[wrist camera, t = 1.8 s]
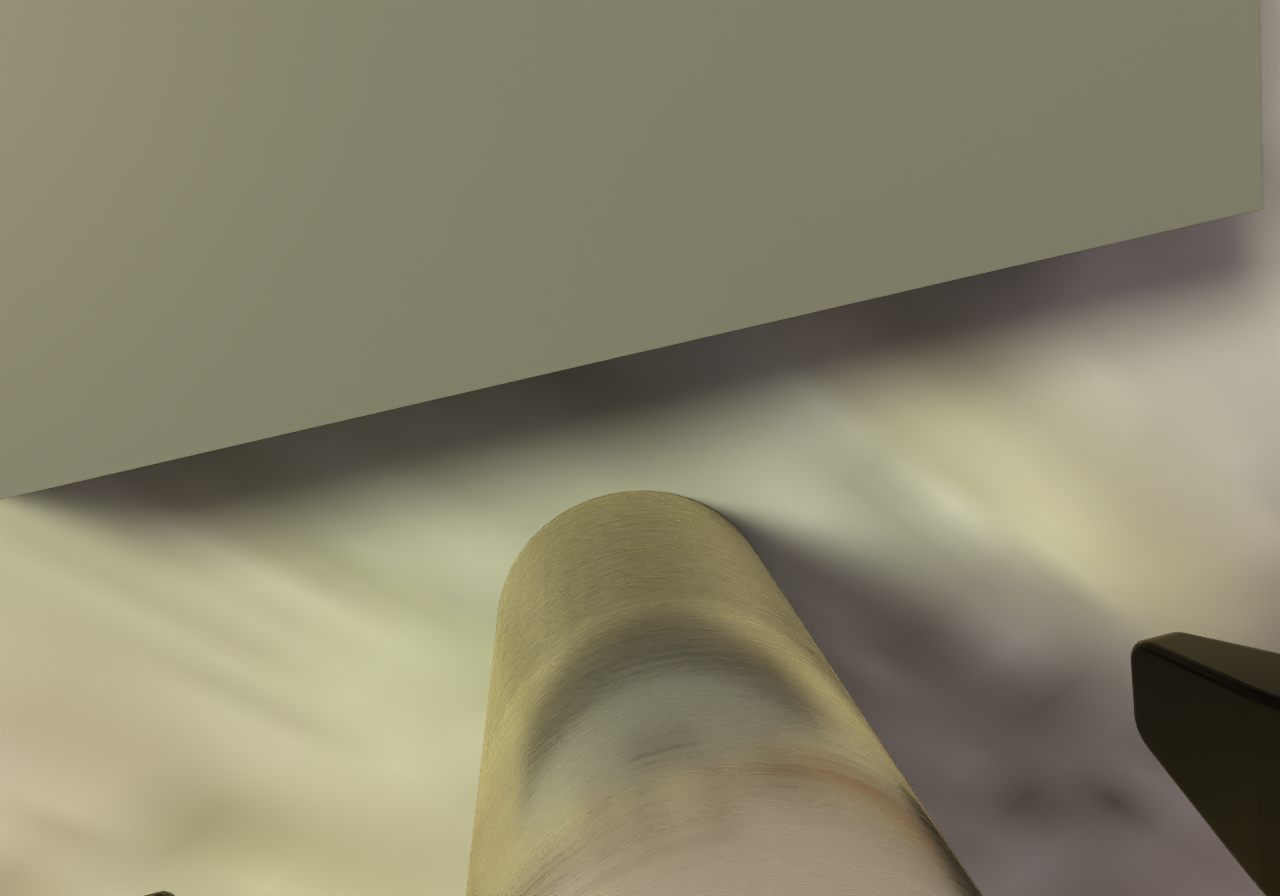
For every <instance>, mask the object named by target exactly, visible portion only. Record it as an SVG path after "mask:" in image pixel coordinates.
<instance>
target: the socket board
mask: <svg viewBox="0 0 1280 896" xmlns="http://www.w3.org/2000/svg"><path fill="white" fill-rule="evenodd" d="M1260 209H1263V204H1262V143H1261V82H1260V21H1259V0H0V499H5V498H9V497H13V496H18V495H22V494H27V493H31V492H35V491H40V490H44V489H48V488H53V487H57V486H61V485H66V484H70V483H74V482H79V481H83V480H87V479H92V478H96V477H100V476H105V475H109V474H113V473H118V472H122V471H126V470H131V469H135V468H139V467H144V466H148V465H152V464H157V463H161V462H166V461H170V460H174V459H179V458H183V457H187V456H192V455H196V454H200V453H205V452H209V451H213V450H218V449H222V448H226V447H231V446H235V445H239V444H244V443H248V442H252V441H257V440H261V439H265V438H270V437H274V436H278V435H283V434H287V433H291V432H296V431H300V430H304V429H309V428H313V427H318V426H322V425H326V424H331V423H335V422H339V421H344V420H348V419H352V418H357V417H361V416H365V415H370V414H374V413H378V412H383V411H387V410H391V409H396V408H400V407H404V406H409V405H413V404H417V403H422V402H426V401H430V400H435V399H439V398H443V397H448V396H452V395H457V394H461V393H465V392H470V391H474V390H478V389H483V388H487V387H491V386H496V385H500V384H504V383H509V382H513V381H517V380H522V379H526V378H530V377H535V376H539V375H543V374H548V373H552V372H556V371H561V370H565V369H569V368H574V367H578V366H582V365H587V364H591V363H596V362H600V361H604V360H609V359H613V358H617V357H622V356H626V355H630V354H635V353H639V352H643V351H648V350H652V349H656V348H661V347H665V346H669V345H674V344H678V343H682V342H687V341H691V340H695V339H700V338H704V337H708V336H713V335H717V334H721V333H726V332H730V331H734V330H739V329H743V328H748V327H752V326H756V325H761V324H765V323H769V322H774V321H778V320H782V319H787V318H791V317H795V316H800V315H804V314H808V313H813V312H817V311H821V310H826V309H830V308H834V307H839V306H843V305H847V304H852V303H856V302H860V301H865V300H869V299H873V298H878V297H882V296H887V295H891V294H895V293H900V292H904V291H908V290H913V289H917V288H921V287H926V286H930V285H934V284H939V283H943V282H947V281H952V280H956V279H960V278H965V277H969V276H973V275H978V274H982V273H986V272H991V271H995V270H999V269H1004V268H1008V267H1012V266H1017V265H1021V264H1025V263H1030V262H1034V261H1039V260H1043V259H1047V258H1052V257H1056V256H1060V255H1065V254H1069V253H1073V252H1078V251H1082V250H1086V249H1091V248H1095V247H1099V246H1104V245H1108V244H1112V243H1117V242H1121V241H1125V240H1130V239H1134V238H1138V237H1143V236H1147V235H1151V234H1156V233H1160V232H1164V231H1169V230H1173V229H1178V228H1182V227H1186V226H1191V225H1195V224H1199V223H1204V222H1208V221H1212V220H1217V219H1221V218H1225V217H1230V216H1234V215H1238V214H1243V213H1247V212H1251V211H1256V210H1260Z"/></svg>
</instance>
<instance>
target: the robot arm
mask: <svg viewBox="0 0 1280 896" xmlns="http://www.w3.org/2000/svg"><path fill="white" fill-rule="evenodd" d="M1131 670H1132V686H1133V701H1134V716H1135V721H1136V725H1137V728H1138V731H1139V733H1140V736H1141V737H1142V739H1143V741H1144V743H1145V744H1146V746H1147V747H1148V748H1149V750H1150V751H1151V752H1152V753H1153V755H1154V756H1155V757H1156V759H1157V760H1158V761H1159V762H1160V764H1161V765H1162V766H1163V767H1164V769H1165V770H1166V771H1167V773H1168V774H1169V775H1170V776H1171V778H1172V779H1173V780H1174V781H1175V783H1176V784H1177V785H1178V787H1179V788H1180V789H1181V790H1182V792H1183V793H1184V794H1185V795H1186V797H1187V798H1188V799H1189V801H1190V802H1191V803H1192V804H1193V806H1194V807H1195V808H1196V809H1197V811H1198V812H1199V813H1200V815H1201V816H1202V817H1203V818H1204V820H1205V821H1206V822H1207V824H1208V825H1209V826H1210V827H1211V829H1212V830H1213V831H1214V832H1215V834H1216V835H1217V836H1218V838H1219V839H1220V840H1221V841H1222V843H1223V844H1224V845H1225V846H1226V848H1227V849H1228V850H1229V852H1230V853H1231V854H1232V855H1233V857H1234V858H1235V859H1236V860H1237V862H1238V863H1239V864H1240V865H1241V867H1242V868H1243V869H1244V870H1245V871H1246V873H1247V874H1248V875H1249V876H1250V877H1251V879H1252V880H1253V881H1254V882H1255V883H1256V885H1257V886H1258V887H1259V888H1260V889H1261V890H1262V892H1263V893H1264V894H1265V895H1266V896H1280V654H1279V653H1275V652H1270V651H1265V650H1261V649H1256V648H1252V647H1247V646H1242V645H1238V644H1233V643H1229V642H1224V641H1220V640H1215V639H1210V638H1206V637H1201V636H1197V635H1192V634H1188V633H1182V632H1173V633H1168V634H1165V635H1161V636H1157V637H1153V638H1149V639H1145V640H1142V641H1139V642H1138V643H1137V644H1136V645H1135V646H1134V647H1133V649H1132V652H1131ZM145 896H174V895H173V894H172V893H170V892H166V891H160V892H156V893H153V894H149V895H145Z"/></svg>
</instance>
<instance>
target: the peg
mask: <svg viewBox="0 0 1280 896" xmlns="http://www.w3.org/2000/svg"><path fill="white" fill-rule="evenodd" d="M466 896H982V894H981V893H980V891H979V890H978V888H977V887H976V885H975V884H974V882H973V881H972V879H971V878H970V876H969V875H968V873H967V872H966V870H965V869H964V867H963V866H962V864H961V862H960V861H959V859H958V858H957V856H956V855H955V853H954V852H953V850H952V849H951V847H950V846H949V844H948V843H947V841H946V840H945V838H944V837H943V835H942V834H941V832H940V831H939V829H938V828H937V826H936V825H935V823H934V822H933V820H932V819H931V817H930V816H929V814H928V813H927V811H926V810H925V808H924V807H923V805H922V803H921V802H920V800H919V799H918V797H917V796H916V794H915V793H914V791H913V790H912V788H911V787H910V785H909V784H908V782H907V781H906V779H905V778H904V776H903V775H902V773H901V772H900V770H899V769H898V767H897V766H896V764H895V763H894V761H893V760H892V758H891V757H890V755H889V754H888V752H887V751H886V749H885V747H884V746H883V744H882V743H881V741H880V740H879V738H878V737H877V735H876V734H875V732H874V731H873V729H872V728H871V726H870V725H869V723H868V722H867V720H866V719H865V717H864V716H863V714H862V713H861V711H860V710H859V708H858V707H857V705H856V704H855V702H854V701H853V699H852V698H851V696H850V695H849V693H848V691H847V690H846V688H845V687H844V685H843V684H842V682H841V681H840V679H839V678H838V676H837V675H836V673H835V672H834V670H833V669H832V667H831V666H830V664H829V663H828V661H827V660H826V658H825V657H824V655H823V654H822V652H821V651H820V649H819V648H818V646H817V645H816V643H815V642H814V640H813V639H812V637H811V635H810V634H809V632H808V631H807V629H806V628H805V626H804V625H803V623H802V622H801V620H800V619H799V617H798V616H797V614H796V613H795V611H794V610H793V608H792V607H791V605H790V604H789V602H788V601H787V599H786V598H785V596H784V595H783V593H782V592H781V590H780V589H779V587H778V586H777V584H776V583H775V581H774V579H773V578H772V576H771V575H770V573H769V572H768V570H767V569H766V567H765V566H764V564H763V563H762V561H761V560H760V558H759V557H758V555H757V554H756V552H755V551H754V549H753V548H752V546H751V545H750V544H749V542H748V541H747V540H746V539H745V537H744V536H743V535H742V533H741V532H740V531H738V530H737V529H736V528H735V527H734V526H733V525H732V524H731V523H730V522H729V521H728V520H726V519H725V518H724V517H722V516H721V515H720V514H718V513H717V512H716V511H714V510H712V509H710V508H708V507H706V506H704V505H703V504H701V503H698V502H696V501H693V500H691V499H688V498H685V497H682V496H678V495H674V494H670V493H665V492H656V491H626V492H619V493H612V494H608V495H604V496H600V497H597V498H593V499H590V500H588V501H586V502H583V503H581V504H579V505H576V506H574V507H572V508H571V509H569V510H567V511H565V512H564V513H562V514H560V515H558V516H557V517H556V518H554V519H553V520H552V521H550V522H549V523H548V524H546V525H545V526H544V527H543V528H542V529H541V530H540V531H539V532H538V533H537V534H536V535H535V536H534V537H533V538H532V539H531V540H530V541H529V542H528V543H527V545H526V546H525V547H524V549H523V550H522V551H521V552H520V554H519V555H518V557H517V559H516V560H515V562H514V564H513V566H512V567H511V569H510V571H509V574H508V576H507V579H506V581H505V583H504V586H503V590H502V594H501V597H500V601H499V609H498V618H497V627H496V635H495V644H494V653H493V662H492V670H491V679H490V688H489V697H488V706H487V714H486V723H485V732H484V741H483V750H482V758H481V767H480V776H479V785H478V794H477V802H476V811H475V820H474V829H473V838H472V846H471V855H470V864H469V873H468V882H467V890H466Z"/></svg>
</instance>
